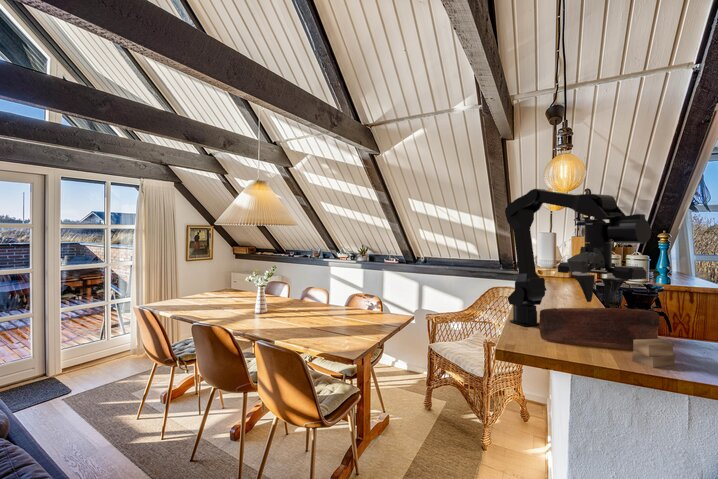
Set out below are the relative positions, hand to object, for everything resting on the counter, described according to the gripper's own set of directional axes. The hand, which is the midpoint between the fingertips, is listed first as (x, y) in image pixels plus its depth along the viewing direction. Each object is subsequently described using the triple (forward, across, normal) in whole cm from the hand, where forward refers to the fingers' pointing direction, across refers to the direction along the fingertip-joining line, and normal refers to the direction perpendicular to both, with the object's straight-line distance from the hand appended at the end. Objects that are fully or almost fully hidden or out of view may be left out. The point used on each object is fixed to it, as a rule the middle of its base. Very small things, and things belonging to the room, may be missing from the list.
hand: (597, 303), depth 84 cm
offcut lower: (+11, +12, 0) cm, 16 cm away
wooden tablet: (+11, 0, 0) cm, 11 cm away
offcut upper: (+9, +12, 0) cm, 15 cm away
